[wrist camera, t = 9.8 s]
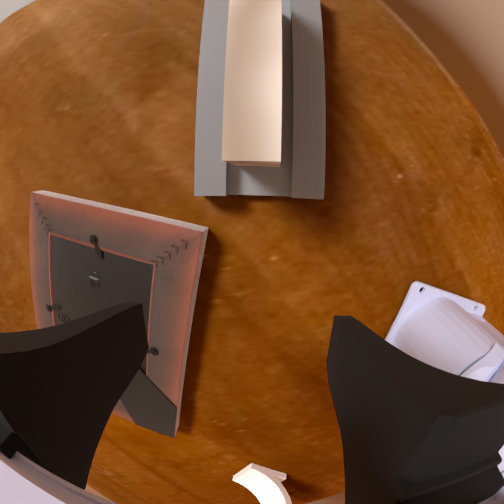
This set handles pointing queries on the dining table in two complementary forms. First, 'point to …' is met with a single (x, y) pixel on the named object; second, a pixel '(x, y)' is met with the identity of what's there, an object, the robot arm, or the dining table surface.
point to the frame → (253, 84)
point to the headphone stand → (264, 484)
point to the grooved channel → (293, 109)
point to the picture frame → (121, 287)
